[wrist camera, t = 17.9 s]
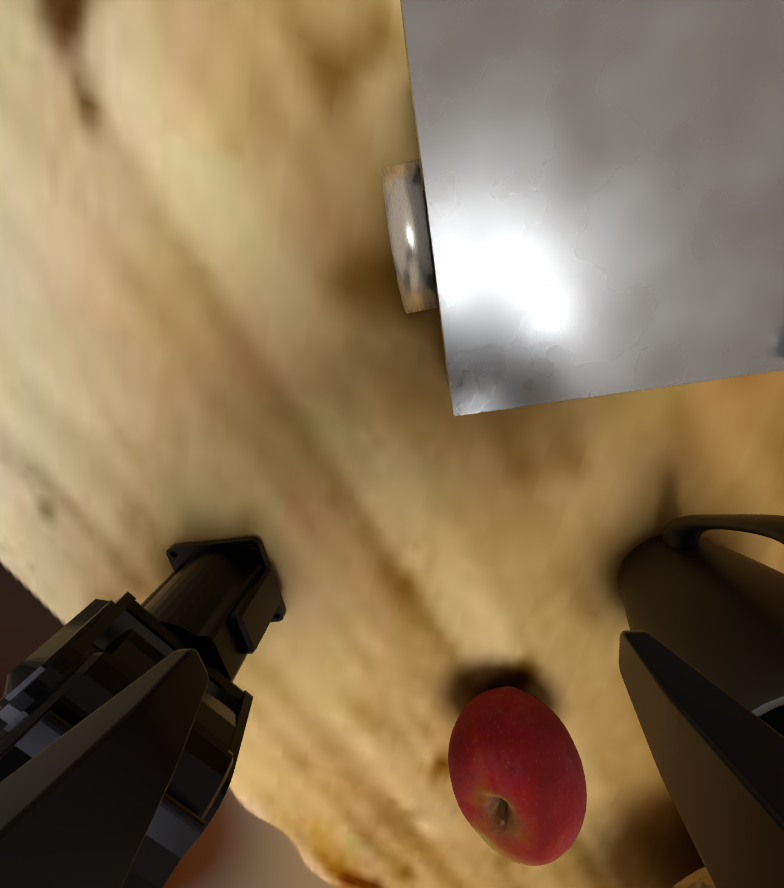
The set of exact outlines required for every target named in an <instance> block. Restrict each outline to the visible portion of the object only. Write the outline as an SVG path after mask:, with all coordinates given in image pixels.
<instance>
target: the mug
mask: <svg viewBox="0 0 784 888" xmlns="http://www.w3.org/2000/svg"><path fill="white" fill-rule="evenodd" d="M712 529H724V530H734V531H742V532H748V533H753V534H758V535H762V536H765V537H769V538H772V539H774V540H776V541H779V542H781V543H782V544H784V516H780V515H747V514H736V515H689V516H684V517H680V518H676V519H674V520H672V521H671V522H670V523H669V524H668V525H667V526H666V528H665V530H664V535H661V536H658V537H655V538H652V539H650V540H647V541H646V542H644V543H642V544H640V545H639V546H637V547H636V548H635V549H634V550H633V551H632V552H630V553H629V555H628V556H627V557H626V559H625V560H624V561H623V563H622V566H621V568H620V571H619V578H618V580H619V587H620V590H621V593H622V596H623V600H624V605H625V610H626V615H627V619H628V623H629V627H630V630H644V631H646V632H648V633H650V634H651V635H652V636H654V637H655V638H656V639H658V640H659V641H660V642H661V643H663V644H664V645H665V646H667V647H668V648H669V649H670V650H672V651H673V652H674V653H676V654H677V655H678V656H680V657H681V658H682V659H683V660H685V661H686V662H687V663H689V664H690V665H691V666H693V667H694V668H695V669H696V670H698V671H699V672H700V673H702V674H703V675H704V676H706V677H707V678H708V679H709V680H711V681H712V682H713V683H715V684H716V685H717V686H719V687H720V688H721V689H722V690H724V691H725V692H726V693H728V694H729V695H730V696H732V697H733V698H734V699H735V700H737V701H738V702H739V703H741V704H742V705H743V706H745V707H746V708H747V709H748V710H750V711H751V712H752V713H754V714H755V715H756V716H757V717H759V718H760V719H761V720H763V721H764V722H765V723H767V724H768V725H769V726H770V727H772V728H773V729H774V730H776V731H777V732H778V733H780V734H781V735H782V736H783V737H784V574H783V573H781V572H779V571H777V570H774V569H772V568H770V567H768V566H766V565H764V564H762V563H760V562H757V561H755V560H753V559H751V558H748V557H746V556H744V555H741V554H739V553H737V552H734V551H732V550H729V549H727V548H725V547H722V546H720V545H718V544H716V543H714V542H712V541H710V540H709V539H706V538H703V537H701V535H702V534H703V533H704V532H705V531H707V530H712Z"/></svg>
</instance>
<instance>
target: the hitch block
mask: <svg viewBox="0 0 784 888" xmlns="http://www.w3.org/2000/svg"><path fill="white" fill-rule="evenodd" d="M400 2H401V11H402V20H403V28H404V37H405V46H406V55H407V64H408V73H409V82H410V90H411V98H412V106H413V114H414V121H415V129H416V137H417V145H418V153H419V160H420V168H421V176H422V184H423V191H425V195H426V203H427V211H428V219H429V227H430V235H431V243H432V251H433V258H434V266H435V274H436V282H437V283H435V285H436V293H437V301H438V309H439V316H440V324H441V332H442V340H443V348H444V355H445V363H446V371H447V379H448V385H449V391H450V397H451V403H452V408H453V414H454V416H459V415H466V414H473V413H480V412H488V411H495V410H502V409H509V408H516V407H523V406H530V405H538V404H545V403H552V402H559V401H566V400H573V399H580V398H588V397H595V396H602V395H609V394H616V393H623V392H631V391H638V390H645V389H652V388H659V387H666V386H673V385H681V384H688V383H695V382H702V381H709V380H716V379H723V378H731V377H738V376H745V375H752V374H759V373H766V372H773V371H781V370H784V0H400Z"/></svg>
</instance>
